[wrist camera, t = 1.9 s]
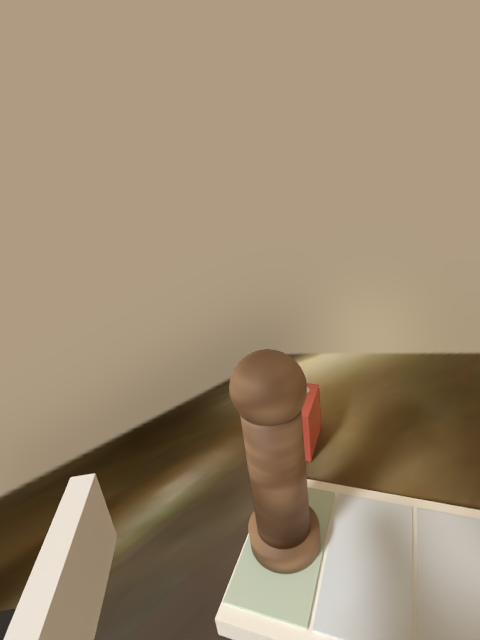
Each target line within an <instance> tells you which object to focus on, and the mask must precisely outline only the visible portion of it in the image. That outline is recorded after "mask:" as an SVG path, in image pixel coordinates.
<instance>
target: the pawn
mask: <svg viewBox="0 0 480 640" xmlns="http://www.w3.org/2000/svg"><path fill="white" fill-rule="evenodd" d="M229 391H230V398H231V401H232V404H233V406H234V408H235V409H236V411H237V412H238V414H239V415H240V418H241V424H242V431H243V438H244V444H245V451H246V458H247V464H248V471H249V478H250V484H251V491H252V497H253V504H254V512H253V513H252V515H251V517H250V520H249V525H248V530H249V537H250V543H251V549H252V552H253V555H254V557H255V558H256V560H257V561H258V562H259V563H260V564H261V565H262V566H263V567H264V568H266V569H268V570H270V571H272V572H275V573H279V574H293V573H297V572H300V571H302V570H304V569H306V568H307V567H309V566H310V565H311V564H312V563H313V562H314V561H315V559H316V558H317V556H318V554H319V551H320V546H321V540H320V525H319V520H318V517H317V515H316V513H315V512H314V510H313V509H312V508H311V507H310V506H309V500H308V487H307V474H306V461H305V448H304V435H303V422H302V407H303V405H304V403H305V400H306V395H307V384H306V379H305V375H304V373H303V371H302V369H301V367H300V366H299V365H298V363H297V362H296V361H295V360H294V359H293V358H291V357H290V356H288V355H287V354H285V353H283V352H280V351H276V350H270V349H265V350H259V351H255V352H253V353H251V354H249V355H247V356H246V357H244V358H243V359H242V360H241V361H240V362H239V363H238V365H237V366H236V367H235V369H234V371H233V373H232V375H231V379H230V386H229Z"/></svg>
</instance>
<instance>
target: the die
mask: <svg viewBox="0 0 480 640" xmlns="http://www.w3.org/2000/svg"><path fill="white" fill-rule="evenodd" d="M302 422H303V435H304V448H305V461H308V462H311V461H312V457H313V454H314V450H315V447H316V444H317V440H318V437H319V433H320V430H321V412H320V394H319V385H316V384H307V395H306V400H305V403H304V405H303V407H302Z"/></svg>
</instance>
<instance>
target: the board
mask: <svg viewBox="0 0 480 640" xmlns="http://www.w3.org/2000/svg"><path fill="white" fill-rule="evenodd" d="M307 487H308V500H309V506H310V507H311V508H312V509H313V510H314V512H315V513H316V515H317V517H318V520H319V525H320V540H321V546H320V551H319V554H318V556H317V558H316V559H315V561H314V562H313V563H312V564H311V565H310V566H309V567H307V568H306V569H304V570H302V571H300V572H297V573H293V574H279V573H275V572H272V571H270V570H268V569H266V568H264V567H263V566H262V565H261V564H260V563H259V562H258V561H257V560H256V558H255V557H254V555H253V552H252V549H251V543H250V537H249V533H248V536H247V538H246V541H245V543H244V546H243V549H242V551H241V554H240V556H239V559H238V561H237V564H236V566H235V569H234V572H233V574H232V577H231V579H230V582H229V584H228V587H227V590H226V592H225V595H224V597H223V600H222V602H221V605H220V607H219V610H218V613H217V615H216V618H215V622H216V626H217V630H218V634H219V635H221V636H224V637H227V638H230V639H233V640H480V510H476V509H471V508H465V507H460V506H454V505H448V504H443V503H437V502H432V501H426V500H421V499H415V498H410V497H404V496H398V495H393V494H387V493H382V492H376V491H371V490H365V489H360V488H354V487H348V486H343V485H337V484H332V483H326V482H321V481H315V480H310V479H307Z"/></svg>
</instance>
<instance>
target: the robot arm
mask: <svg viewBox="0 0 480 640" xmlns="http://www.w3.org/2000/svg"><path fill="white" fill-rule="evenodd" d="M116 541H117V534H116V531H115V528H114V525H113V522H112V519H111V517H110V514H109V511H108V508H107V505H106V502H105V499H104V497H103V494H102V491H101V488H100V485H99V482H98V479H97V477H96V474H95V473H94V474H88V475H81V476H75V477H70V480H69V482H68V485H67V487H66V489H65V492H64V494H63V497H62V499H61V502H60V504H59V506H58V509H57V511H56V514H55V516H54V518H53V521H52V523H51V526H50V528H49V531H48V533H47V535H46V538H45V540H44V543H43V545H42V547H41V550H40V552H39V555H38V557H37V560H36V562H35V564H34V567H33V569H32V572H31V574H30V576H29V579H28V581H27V584H26V586H25V589H24V591H23V593H22V596H21V598H20V601H19V603H18V605H17V608H16V609H12V610H6V611H0V640H94V637H95V633H96V628H97V624H98V620H99V615H100V611H101V607H102V602H103V598H104V594H105V589H106V585H107V580H108V576H109V572H110V567H111V563H112V559H113V554H114V550H115V546H116Z"/></svg>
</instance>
